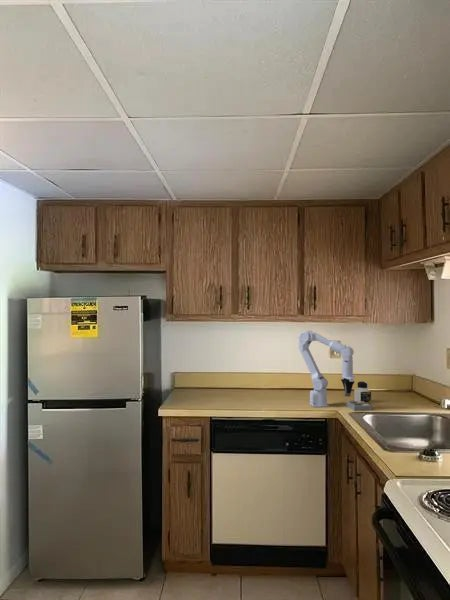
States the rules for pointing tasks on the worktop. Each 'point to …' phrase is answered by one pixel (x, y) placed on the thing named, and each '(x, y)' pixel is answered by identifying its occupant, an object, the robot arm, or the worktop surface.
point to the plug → (346, 392)
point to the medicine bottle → (363, 392)
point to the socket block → (358, 405)
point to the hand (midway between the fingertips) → (347, 392)
